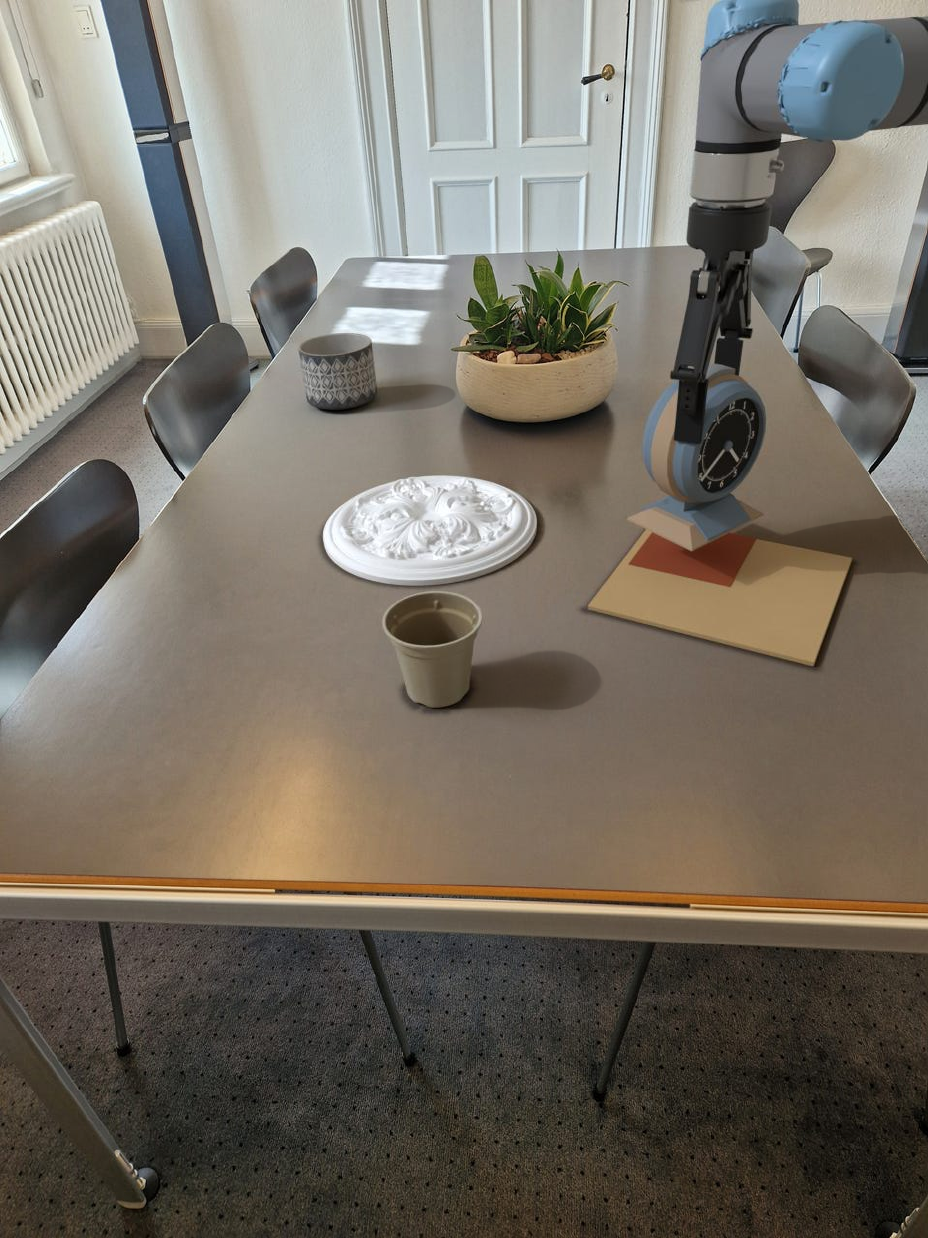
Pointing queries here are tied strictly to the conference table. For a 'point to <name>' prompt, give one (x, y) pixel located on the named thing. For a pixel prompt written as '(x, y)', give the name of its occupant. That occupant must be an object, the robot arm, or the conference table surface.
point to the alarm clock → (703, 462)
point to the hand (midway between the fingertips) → (706, 418)
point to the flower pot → (434, 644)
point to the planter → (338, 370)
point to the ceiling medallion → (430, 530)
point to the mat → (730, 592)
